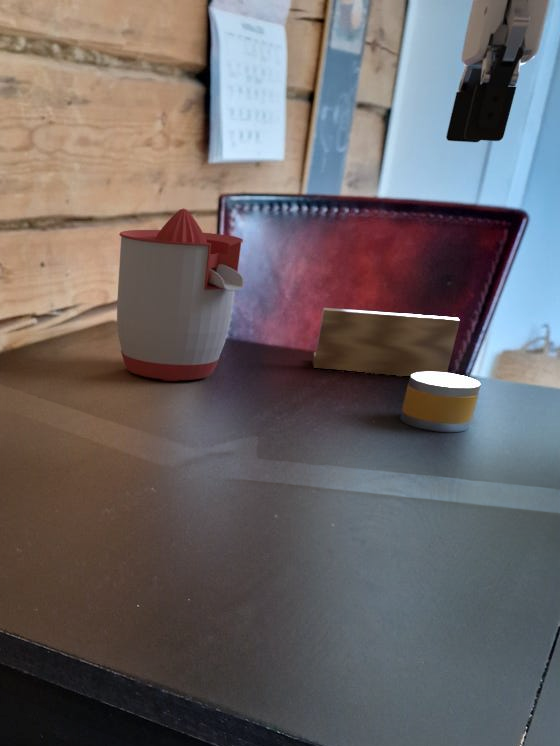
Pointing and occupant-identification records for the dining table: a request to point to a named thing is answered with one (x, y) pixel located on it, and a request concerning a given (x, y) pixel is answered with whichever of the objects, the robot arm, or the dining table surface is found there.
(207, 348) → the citrus juicer
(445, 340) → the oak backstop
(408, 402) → the tin can
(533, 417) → the dining table surface
